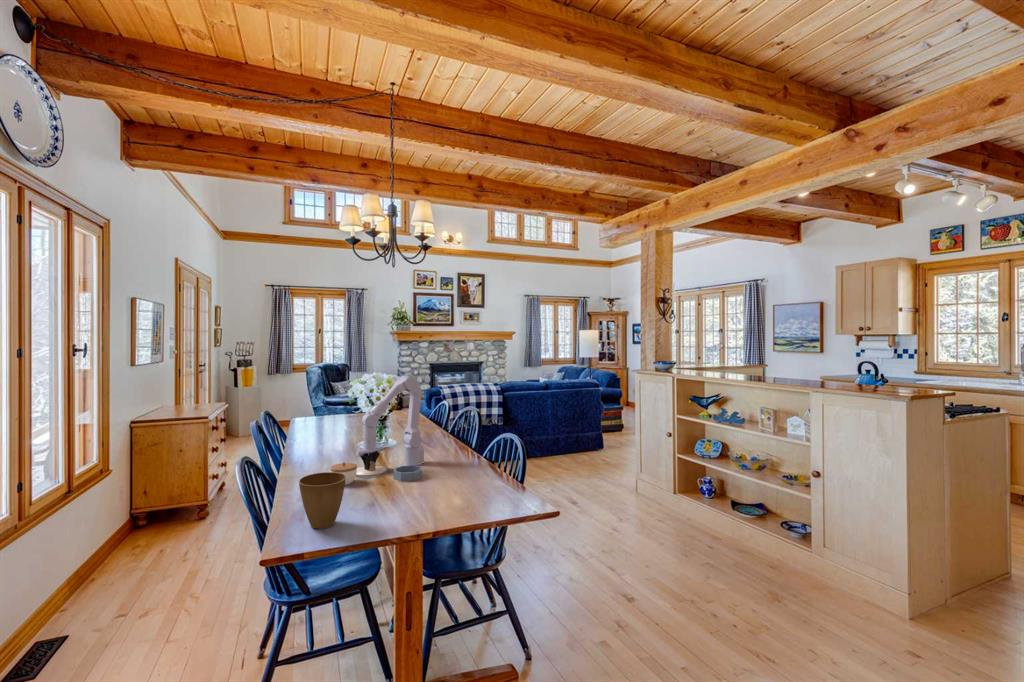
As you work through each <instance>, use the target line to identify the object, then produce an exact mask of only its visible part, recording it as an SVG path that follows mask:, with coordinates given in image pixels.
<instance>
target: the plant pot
mask: <svg viewBox="0 0 1024 682" xmlns="http://www.w3.org/2000/svg"><path fill="white" fill-rule="evenodd" d="M345 481H346V476H345V475H344V474H342V473H336V472H331V471H329V472H328V471H326V472H316V473H311V474H308V475H305V476H302V477H301V478H300V479H299V480H298V486H299V491H300V495H301V496H300V497H301V502H302V505H303V508H304V511H305V514H306V518H307V520H308V524H309V525H310V527H311V528H312V527H313V528H312V529H314V528H324V529H328V528H330V526H331V527H332V526H334V525H335V523H336V520H337V517H338V514H339V512H340V509H341V505H342V500H343V496H344V492H345V486H346V485H345ZM327 527H328V528H327Z"/></svg>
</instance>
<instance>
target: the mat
mask: <svg viewBox="0 0 1024 682" xmlns="http://www.w3.org/2000/svg"><path fill="white" fill-rule="evenodd" d="M375 466H380V465H379V464H375ZM384 467H385V468H386V472H384V473H382V474H378V475H373V476H358V475H356V477H355V478H360V479H363V480H370V479H373V478H376V477H380V476H383V475H386V474H389V473H394V468H392V467H387V466H384Z"/></svg>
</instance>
